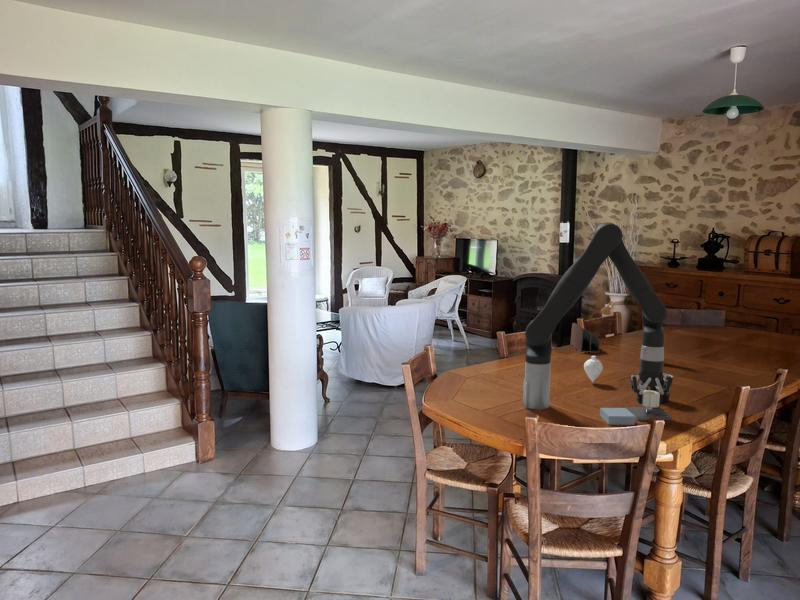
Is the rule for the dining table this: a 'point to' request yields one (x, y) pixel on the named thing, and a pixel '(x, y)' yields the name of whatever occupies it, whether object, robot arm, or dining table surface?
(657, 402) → the collar ring
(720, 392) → the dining table surface
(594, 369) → the spinning top
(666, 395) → the coffee mug
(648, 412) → the hub
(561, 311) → the robot arm
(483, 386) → the dining table surface
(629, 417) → the stand block
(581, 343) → the letter holder
